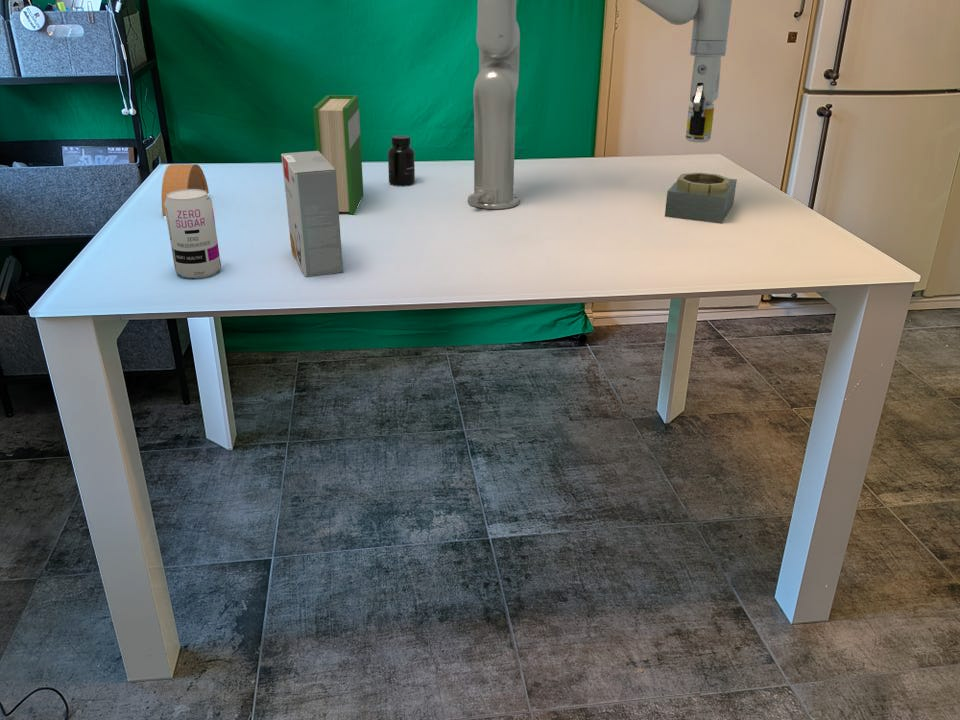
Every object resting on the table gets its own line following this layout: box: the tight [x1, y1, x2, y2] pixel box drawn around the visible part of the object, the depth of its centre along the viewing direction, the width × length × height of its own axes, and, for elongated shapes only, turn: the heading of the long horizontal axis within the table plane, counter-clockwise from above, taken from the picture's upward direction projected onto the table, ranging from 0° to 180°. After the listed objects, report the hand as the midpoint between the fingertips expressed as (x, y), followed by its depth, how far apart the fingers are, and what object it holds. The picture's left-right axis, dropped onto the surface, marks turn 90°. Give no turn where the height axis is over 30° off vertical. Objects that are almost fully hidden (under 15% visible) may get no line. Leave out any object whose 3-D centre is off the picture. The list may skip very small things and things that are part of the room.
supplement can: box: [164, 189, 222, 280], centre depth 151 cm, size 8×8×15 cm
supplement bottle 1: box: [387, 134, 416, 187], centre depth 212 cm, size 7×7×12 cm
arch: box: [161, 163, 210, 217], centre depth 191 cm, size 6×20×10 cm, turn 3°
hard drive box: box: [280, 150, 344, 278], centre depth 156 cm, size 16×8×20 cm, turn 21°
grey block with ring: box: [664, 172, 738, 225], centre depth 195 cm, size 22×13×8 cm, turn 157°
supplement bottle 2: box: [685, 97, 715, 143], centre depth 186 cm, size 6×6×10 cm
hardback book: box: [312, 94, 364, 216], centre depth 191 cm, size 18×7×24 cm, turn 0°
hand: (698, 131), depth 187 cm, fingers closed on supplement bottle 2, 5 cm apart
